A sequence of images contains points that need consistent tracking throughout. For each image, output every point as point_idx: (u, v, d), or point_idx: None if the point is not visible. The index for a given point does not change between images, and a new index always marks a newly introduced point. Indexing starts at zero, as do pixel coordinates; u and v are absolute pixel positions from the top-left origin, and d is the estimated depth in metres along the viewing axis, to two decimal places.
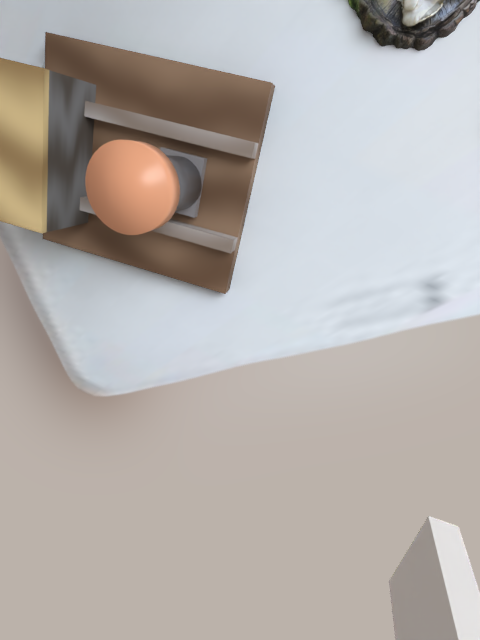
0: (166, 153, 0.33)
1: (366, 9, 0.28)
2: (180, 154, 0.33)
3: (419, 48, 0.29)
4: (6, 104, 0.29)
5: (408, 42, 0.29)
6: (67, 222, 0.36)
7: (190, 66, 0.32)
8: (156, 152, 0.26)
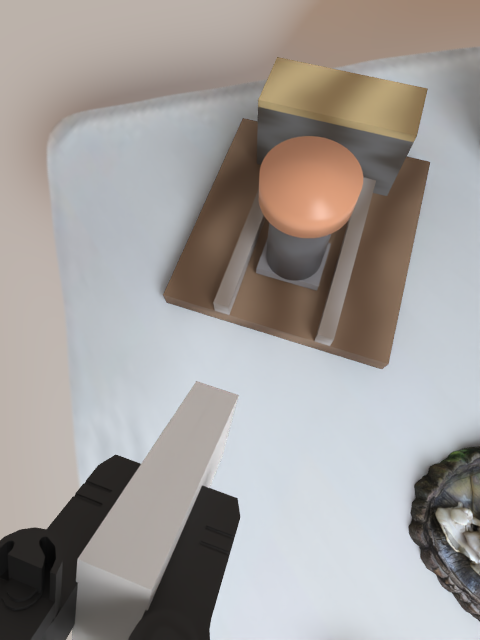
0: None
1: (450, 469, 0.27)
2: (323, 262, 0.31)
3: (411, 527, 0.26)
4: (384, 97, 0.30)
5: (418, 515, 0.26)
6: (262, 136, 0.33)
7: (403, 284, 0.31)
8: (346, 215, 0.23)
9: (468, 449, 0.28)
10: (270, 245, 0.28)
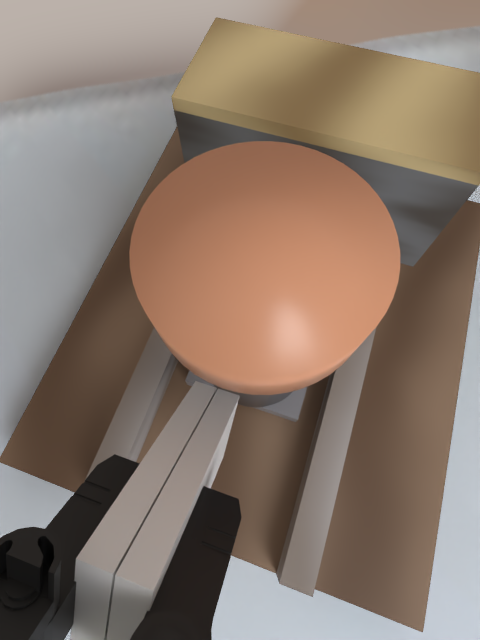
0: None
1: None
2: None
3: None
4: (418, 93, 0.15)
5: None
6: None
7: (446, 446, 0.17)
8: None
9: None
10: None
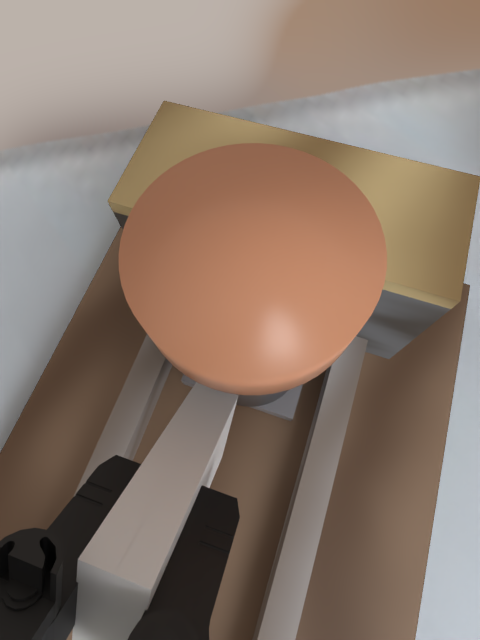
0: None
1: None
2: None
3: None
4: (384, 197, 0.13)
5: None
6: None
7: (420, 579, 0.15)
8: (342, 350, 0.09)
9: None
10: None
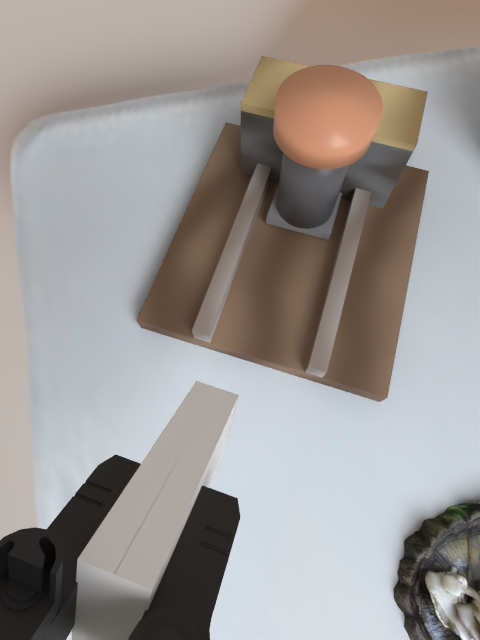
0: None
1: (446, 527, 0.24)
2: (334, 211, 0.30)
3: (396, 590, 0.23)
4: None
5: (406, 576, 0.23)
6: (246, 143, 0.30)
7: (401, 307, 0.28)
8: (365, 143, 0.22)
9: (468, 505, 0.25)
10: (282, 188, 0.28)
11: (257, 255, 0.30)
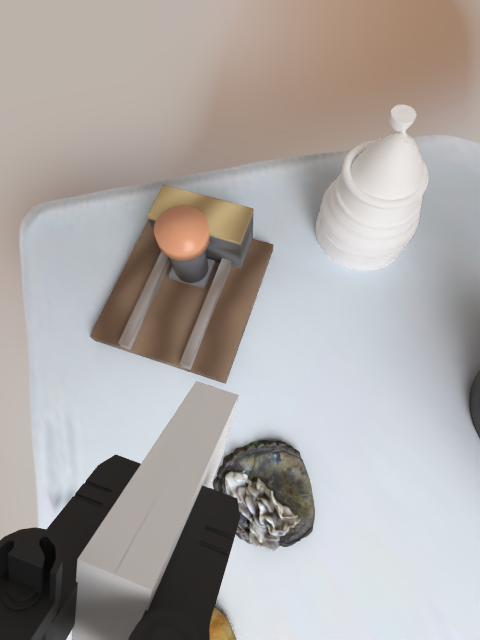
0: (210, 263, 0.52)
1: (245, 450, 0.45)
2: (208, 272, 0.51)
3: (214, 481, 0.44)
4: (225, 214, 0.48)
5: (219, 474, 0.44)
6: None
7: (241, 329, 0.49)
8: (199, 248, 0.43)
9: (260, 441, 0.45)
10: None
11: (162, 298, 0.51)
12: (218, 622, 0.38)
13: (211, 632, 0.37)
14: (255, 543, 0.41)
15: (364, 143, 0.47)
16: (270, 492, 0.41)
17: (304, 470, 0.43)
